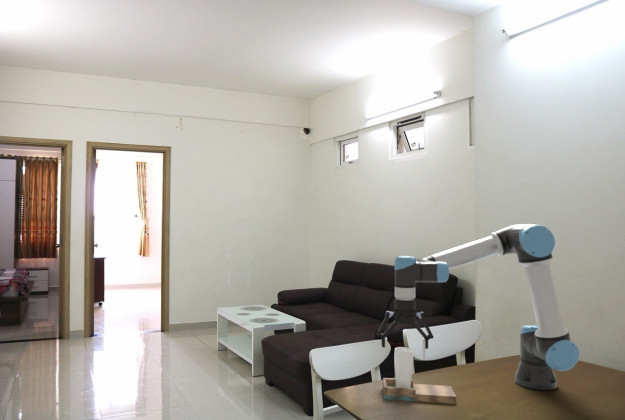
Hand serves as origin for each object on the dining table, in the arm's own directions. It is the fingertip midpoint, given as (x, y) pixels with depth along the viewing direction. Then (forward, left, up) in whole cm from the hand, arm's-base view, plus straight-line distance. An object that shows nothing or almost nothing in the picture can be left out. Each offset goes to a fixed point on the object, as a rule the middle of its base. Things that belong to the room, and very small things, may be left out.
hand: (404, 357), depth 178 cm
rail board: (-6, 0, -14) cm, 15 cm away
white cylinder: (0, 0, -12) cm, 12 cm away
